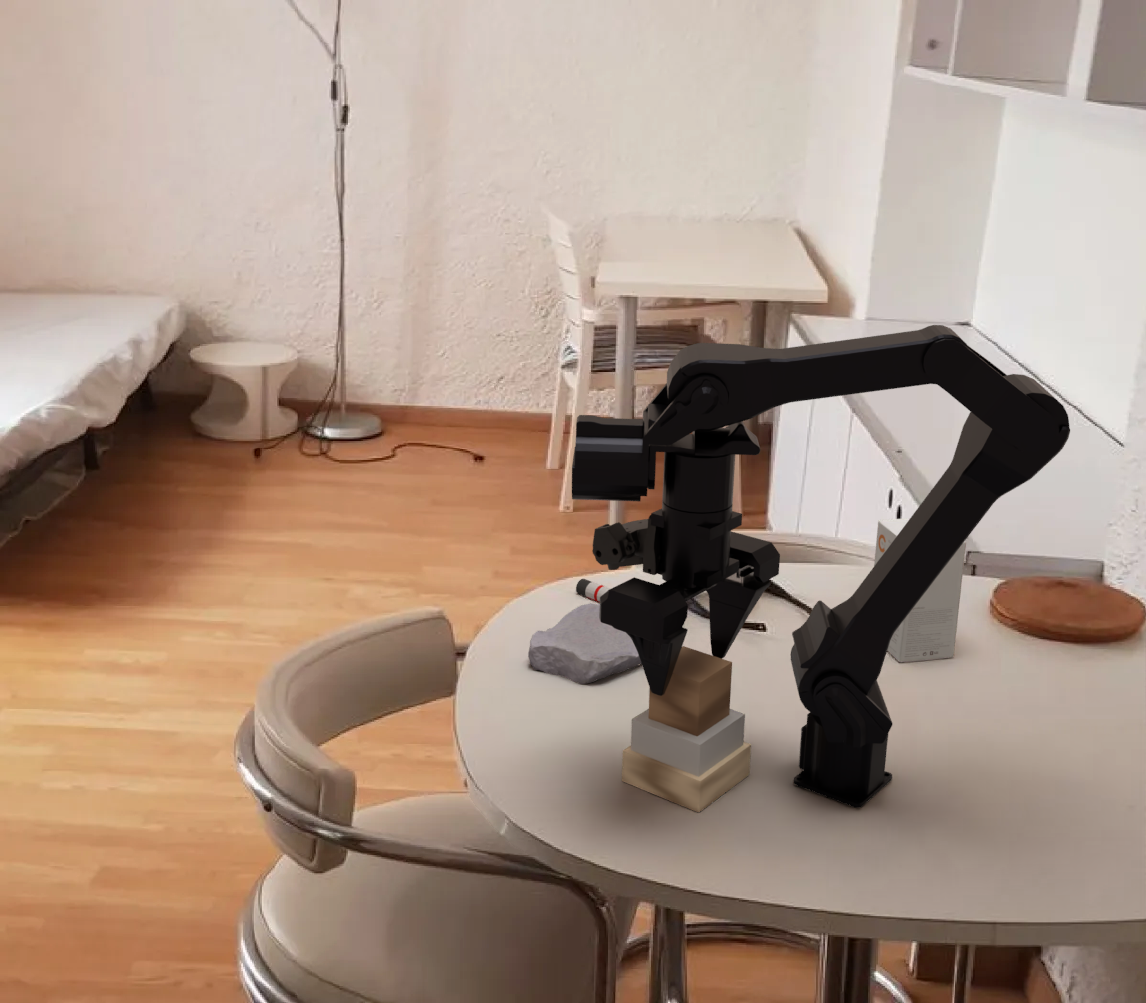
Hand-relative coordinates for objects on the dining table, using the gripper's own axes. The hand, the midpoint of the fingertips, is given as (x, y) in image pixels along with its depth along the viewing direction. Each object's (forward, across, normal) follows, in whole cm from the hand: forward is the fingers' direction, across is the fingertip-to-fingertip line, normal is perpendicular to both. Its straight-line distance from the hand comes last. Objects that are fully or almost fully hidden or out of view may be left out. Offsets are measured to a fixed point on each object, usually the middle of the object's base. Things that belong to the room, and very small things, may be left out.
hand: (688, 675), depth 118 cm
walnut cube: (+4, 0, 0) cm, 4 cm away
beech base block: (+10, 0, 0) cm, 10 cm away
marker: (+10, -26, -25) cm, 38 cm away
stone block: (+11, -14, -20) cm, 27 cm away
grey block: (+7, 0, 0) cm, 7 cm away
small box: (+10, -38, +3) cm, 40 cm away
